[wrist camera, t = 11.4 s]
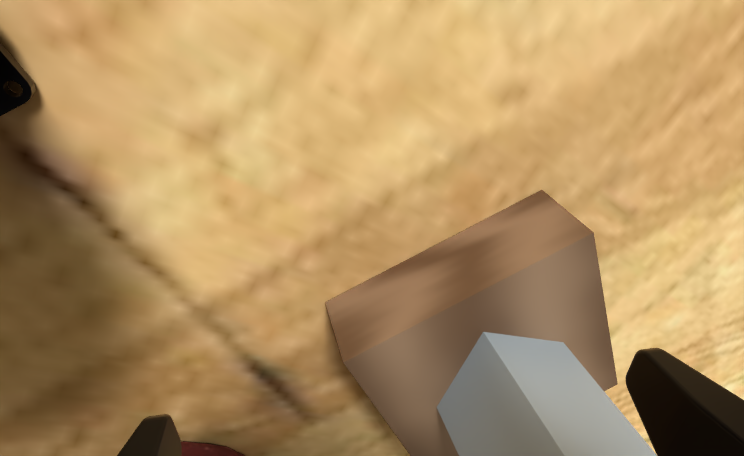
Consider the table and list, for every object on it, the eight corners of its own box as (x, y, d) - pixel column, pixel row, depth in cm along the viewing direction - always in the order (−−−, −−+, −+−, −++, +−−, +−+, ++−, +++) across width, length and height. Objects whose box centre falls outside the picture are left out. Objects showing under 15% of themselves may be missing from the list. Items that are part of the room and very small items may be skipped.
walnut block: (406, 422, 31) (429, 481, 28) (325, 302, 24) (343, 362, 21) (575, 335, 31) (617, 384, 28) (542, 189, 24) (593, 232, 21)
